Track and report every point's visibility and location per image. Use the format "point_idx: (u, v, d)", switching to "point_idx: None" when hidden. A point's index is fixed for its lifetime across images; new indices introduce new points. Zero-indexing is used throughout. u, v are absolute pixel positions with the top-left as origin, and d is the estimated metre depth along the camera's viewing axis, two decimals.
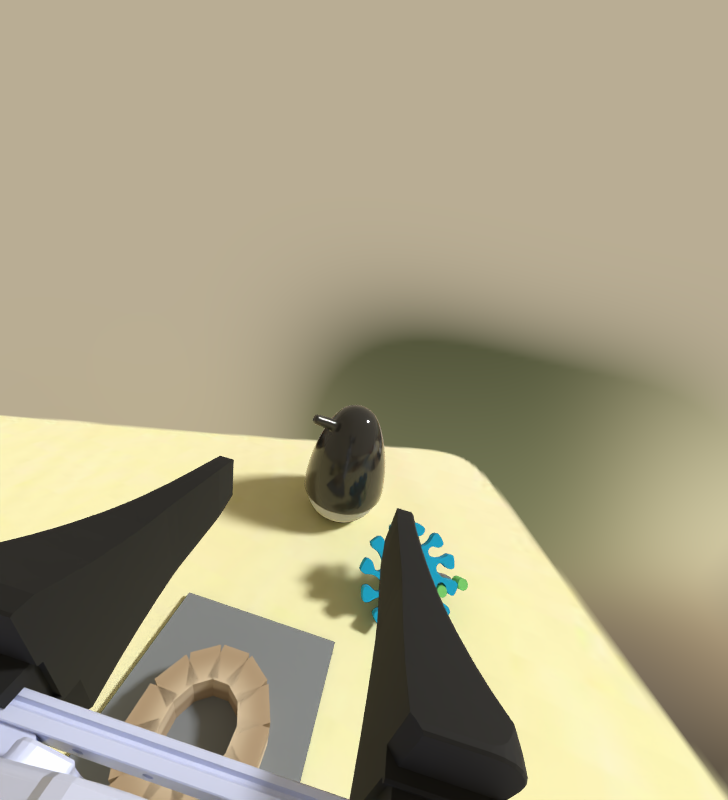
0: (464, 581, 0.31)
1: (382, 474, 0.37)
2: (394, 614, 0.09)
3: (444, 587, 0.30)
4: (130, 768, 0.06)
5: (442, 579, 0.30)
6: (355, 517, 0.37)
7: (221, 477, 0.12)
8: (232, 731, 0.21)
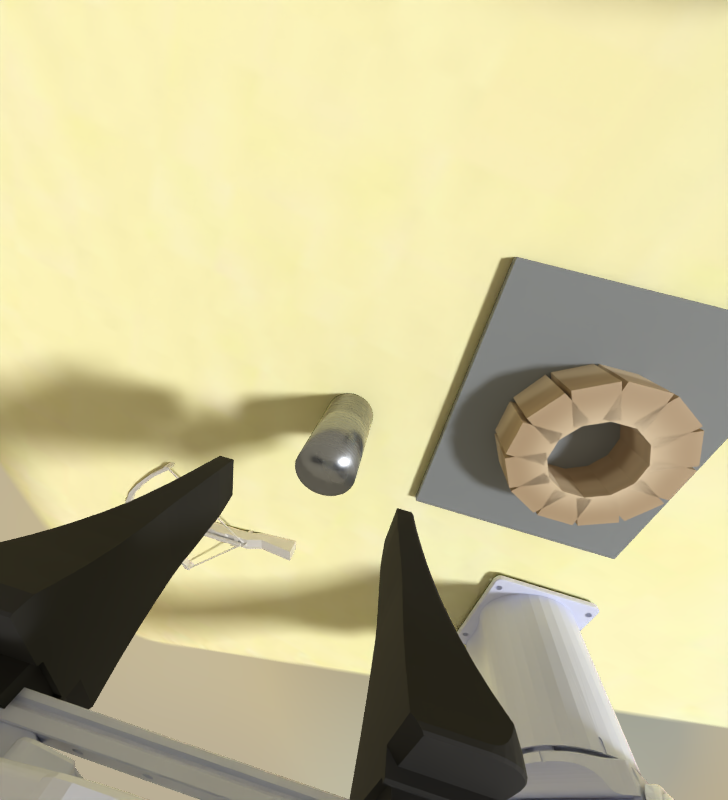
0: None
1: None
2: (394, 614, 0.09)
3: None
4: (130, 768, 0.06)
5: None
6: None
7: (221, 477, 0.12)
8: (614, 430, 0.17)
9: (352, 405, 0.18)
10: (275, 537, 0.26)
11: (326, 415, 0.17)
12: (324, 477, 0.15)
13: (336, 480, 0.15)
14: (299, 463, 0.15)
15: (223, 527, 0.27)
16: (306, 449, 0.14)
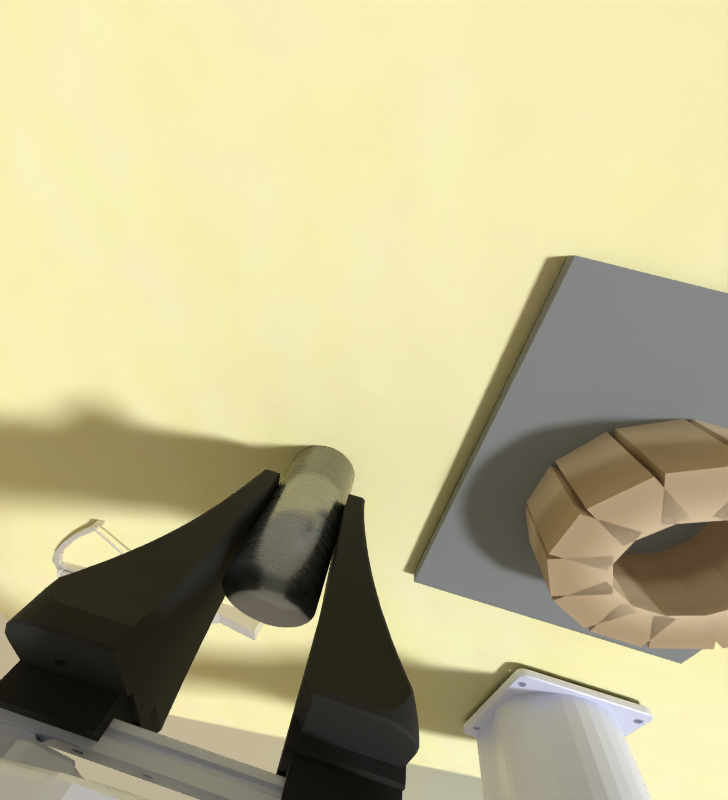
0: None
1: None
2: None
3: None
4: (130, 768, 0.06)
5: None
6: None
7: (270, 492, 0.12)
8: None
9: (322, 468, 0.13)
10: None
11: (282, 488, 0.12)
12: (268, 604, 0.09)
13: (286, 609, 0.09)
14: (228, 584, 0.09)
15: None
16: (235, 567, 0.09)
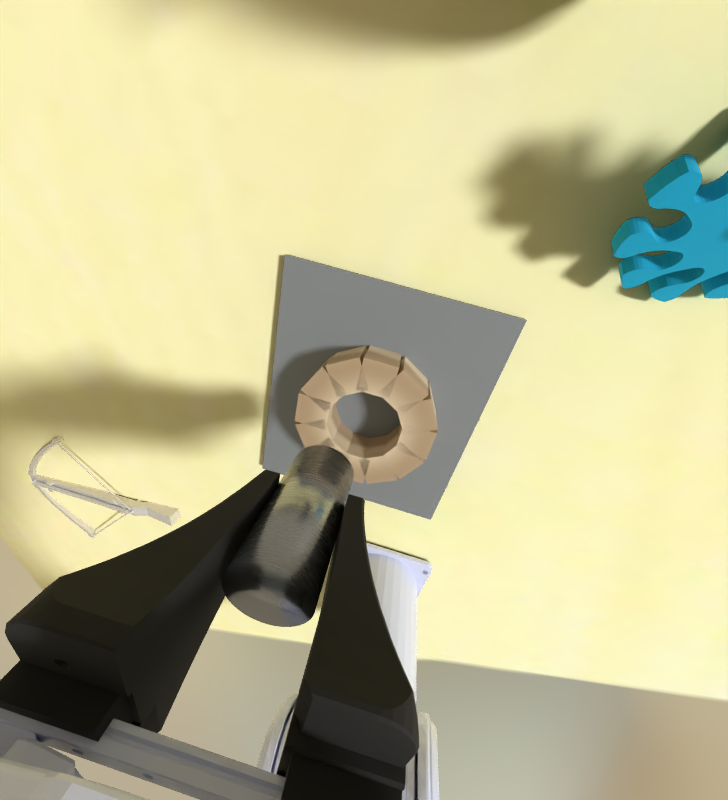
0: None
1: None
2: (326, 593, 0.09)
3: None
4: (130, 768, 0.06)
5: None
6: None
7: (270, 492, 0.12)
8: None
9: (322, 468, 0.13)
10: (160, 505, 0.29)
11: (282, 487, 0.12)
12: (267, 603, 0.09)
13: (285, 609, 0.09)
14: (227, 582, 0.09)
15: (114, 496, 0.30)
16: (235, 566, 0.09)
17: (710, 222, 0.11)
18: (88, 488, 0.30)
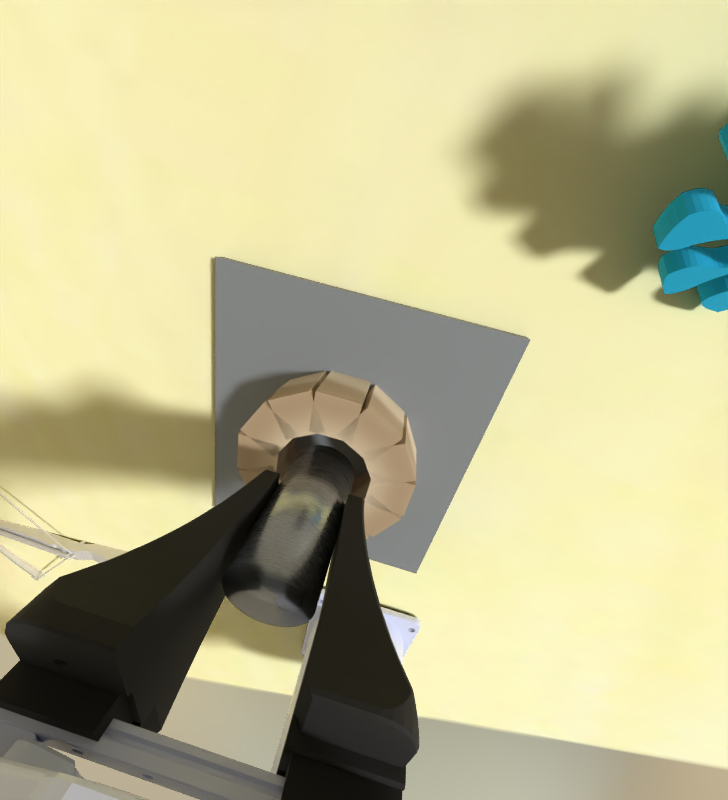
0: None
1: None
2: (326, 593, 0.09)
3: None
4: (130, 768, 0.06)
5: None
6: None
7: (270, 492, 0.12)
8: None
9: (323, 468, 0.13)
10: (107, 548, 0.25)
11: (283, 487, 0.12)
12: (268, 603, 0.09)
13: (286, 608, 0.09)
14: (227, 582, 0.09)
15: (54, 537, 0.26)
16: (236, 566, 0.09)
17: None
18: (25, 527, 0.26)
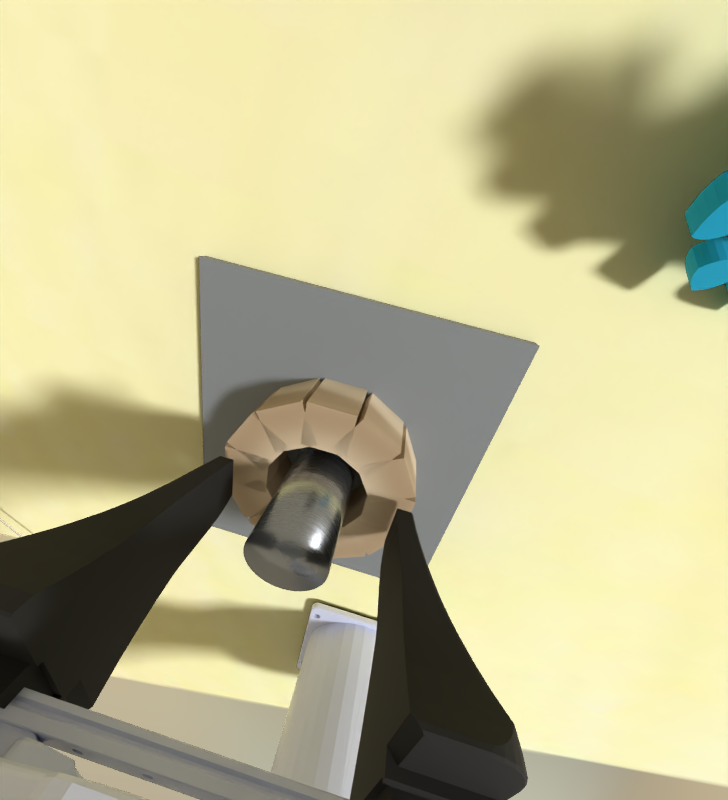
0: None
1: None
2: (394, 614, 0.09)
3: None
4: (130, 768, 0.06)
5: None
6: None
7: (221, 477, 0.12)
8: None
9: None
10: None
11: (295, 468, 0.13)
12: (285, 569, 0.10)
13: (301, 573, 0.10)
14: (249, 549, 0.10)
15: None
16: (257, 533, 0.10)
17: None
18: (10, 538, 0.25)
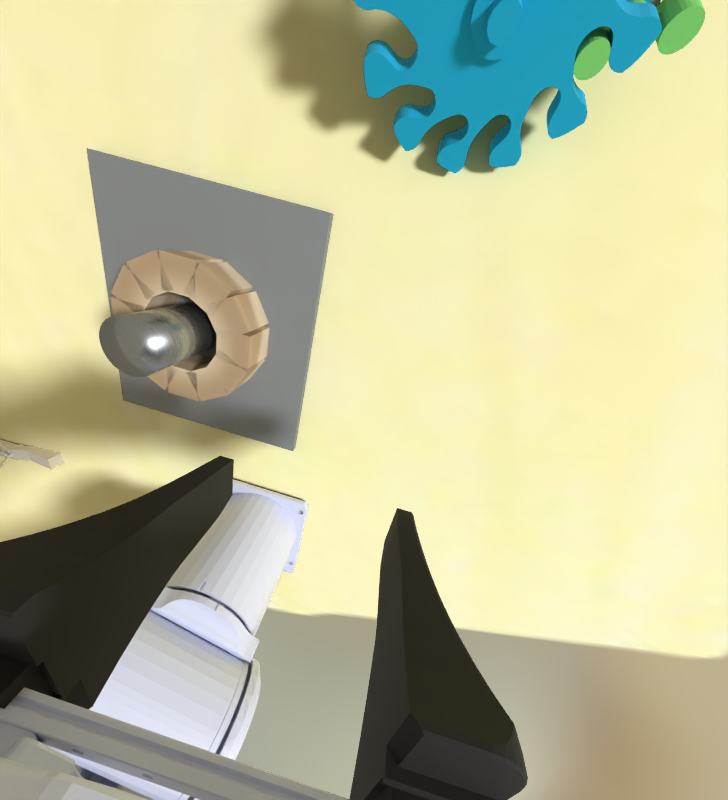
0: (695, 17, 0.09)
1: None
2: (394, 614, 0.09)
3: (606, 45, 0.10)
4: (130, 768, 0.06)
5: (614, 14, 0.09)
6: None
7: (221, 477, 0.12)
8: None
9: (193, 305, 0.18)
10: (42, 449, 0.29)
11: None
12: (129, 355, 0.15)
13: (141, 358, 0.15)
14: (103, 339, 0.15)
15: None
16: (104, 322, 0.14)
17: (431, 35, 0.10)
18: None
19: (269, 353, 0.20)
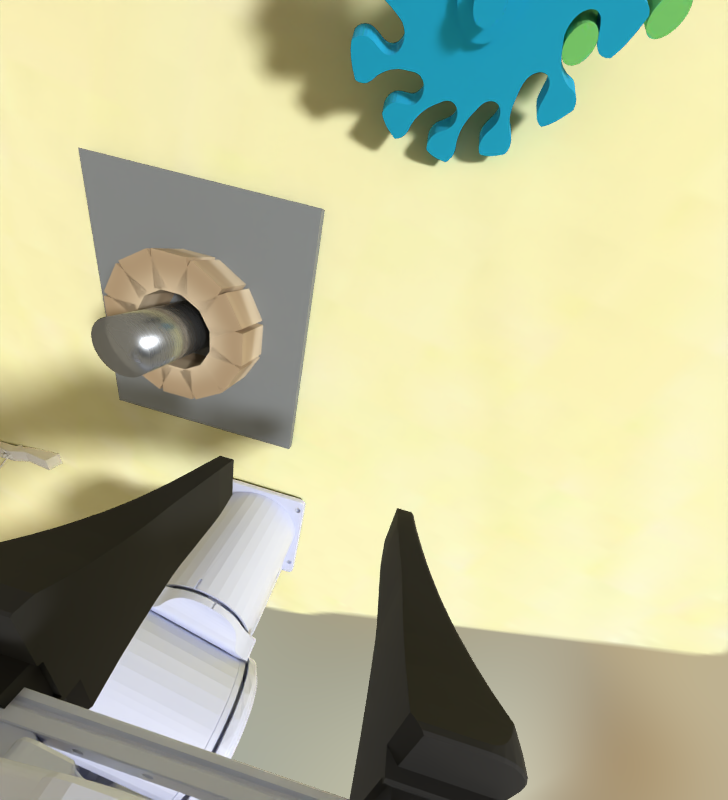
0: (683, 0, 0.09)
1: None
2: (394, 614, 0.09)
3: (594, 29, 0.10)
4: (130, 768, 0.06)
5: None
6: None
7: (221, 477, 0.12)
8: None
9: (186, 304, 0.18)
10: (40, 450, 0.29)
11: None
12: (122, 355, 0.15)
13: (133, 358, 0.15)
14: (95, 340, 0.15)
15: None
16: (95, 323, 0.14)
17: (417, 17, 0.10)
18: None
19: (264, 350, 0.20)
